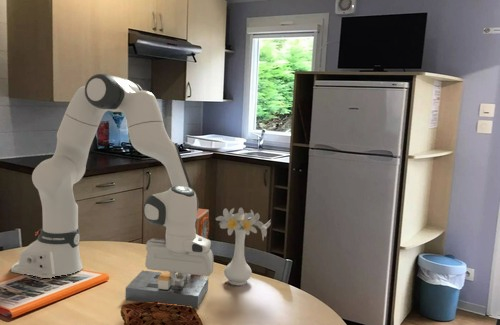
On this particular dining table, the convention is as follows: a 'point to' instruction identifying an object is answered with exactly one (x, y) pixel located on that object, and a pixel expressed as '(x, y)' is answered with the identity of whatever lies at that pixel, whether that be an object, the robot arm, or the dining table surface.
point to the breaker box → (147, 290)
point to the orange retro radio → (202, 224)
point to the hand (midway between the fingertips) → (178, 285)
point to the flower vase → (240, 242)
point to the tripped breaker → (164, 281)
